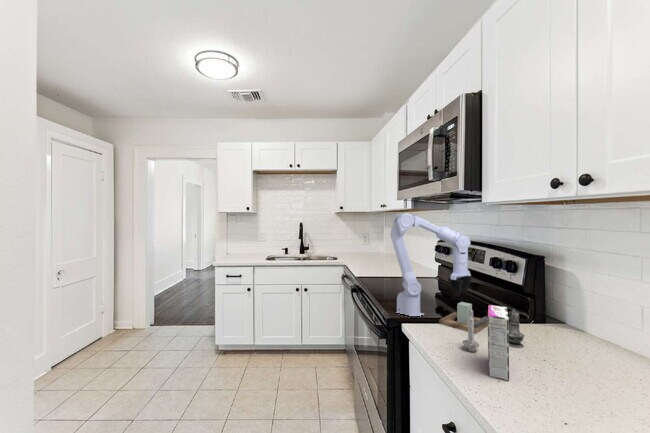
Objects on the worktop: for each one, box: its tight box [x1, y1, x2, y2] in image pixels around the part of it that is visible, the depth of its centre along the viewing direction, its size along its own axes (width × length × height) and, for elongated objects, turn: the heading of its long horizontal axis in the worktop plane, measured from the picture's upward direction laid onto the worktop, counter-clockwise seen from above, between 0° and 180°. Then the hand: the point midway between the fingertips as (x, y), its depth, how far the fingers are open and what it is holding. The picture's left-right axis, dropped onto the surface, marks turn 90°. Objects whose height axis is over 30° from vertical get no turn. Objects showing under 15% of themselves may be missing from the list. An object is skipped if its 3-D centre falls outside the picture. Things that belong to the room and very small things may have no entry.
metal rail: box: [474, 316, 488, 329], centre depth 113 cm, size 1×12×2 cm, turn 132°
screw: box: [461, 309, 480, 353], centre depth 94 cm, size 13×5×5 cm
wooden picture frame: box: [438, 312, 488, 335], centre depth 117 cm, size 14×14×2 cm
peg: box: [456, 301, 473, 325], centre depth 117 cm, size 4×4×8 cm
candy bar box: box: [487, 304, 510, 381], centre depth 82 cm, size 11×5×16 cm, turn 151°
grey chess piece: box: [508, 308, 525, 349], centre depth 99 cm, size 6×6×12 cm
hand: (460, 294), depth 126 cm, fingers open, 7 cm apart
